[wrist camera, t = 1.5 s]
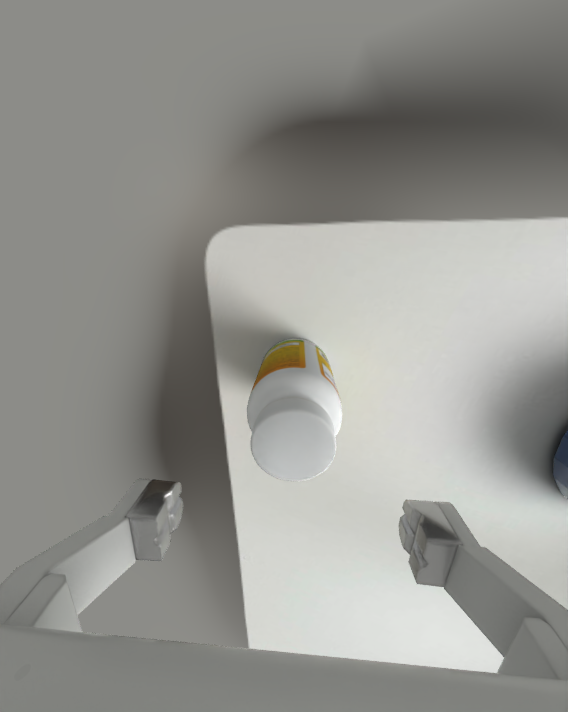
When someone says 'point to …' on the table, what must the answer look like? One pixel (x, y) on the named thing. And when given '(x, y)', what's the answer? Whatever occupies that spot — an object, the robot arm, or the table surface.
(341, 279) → the table surface
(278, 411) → the supplement bottle
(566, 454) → the blue bowl
